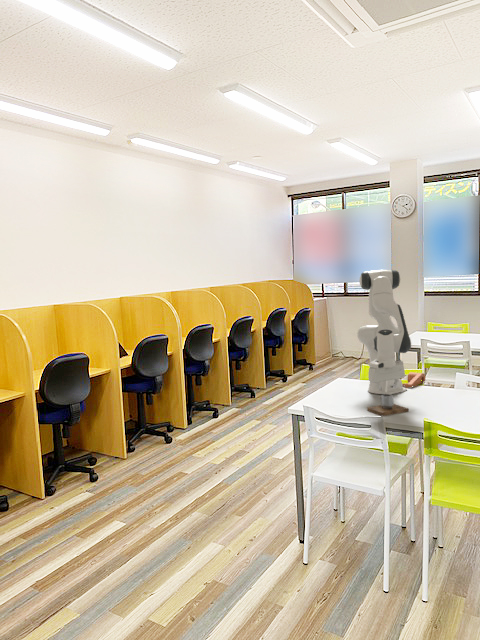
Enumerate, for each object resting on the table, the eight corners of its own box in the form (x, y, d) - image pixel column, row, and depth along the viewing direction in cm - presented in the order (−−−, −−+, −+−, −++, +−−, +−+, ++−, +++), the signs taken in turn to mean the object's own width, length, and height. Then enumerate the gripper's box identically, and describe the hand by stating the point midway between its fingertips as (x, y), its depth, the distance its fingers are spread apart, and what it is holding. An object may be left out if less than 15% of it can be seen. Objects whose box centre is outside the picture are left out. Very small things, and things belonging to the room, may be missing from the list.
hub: (388, 403, 251) (388, 393, 250) (395, 405, 246) (395, 395, 245) (379, 404, 249) (379, 395, 248) (386, 407, 244) (386, 397, 243)
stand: (392, 406, 256) (392, 392, 255) (408, 411, 245) (407, 396, 244) (367, 410, 250) (366, 396, 250) (382, 415, 239) (381, 400, 238)
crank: (413, 383, 307) (412, 371, 307) (425, 384, 302) (425, 372, 301) (398, 389, 293) (398, 376, 292) (411, 391, 287) (411, 378, 287)
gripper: (398, 358, 252) (399, 384, 254) (366, 363, 245) (367, 390, 247) (407, 360, 246) (408, 386, 248) (373, 365, 239) (375, 393, 241)
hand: (387, 388), depth 247 cm, fingers open, 8 cm apart
